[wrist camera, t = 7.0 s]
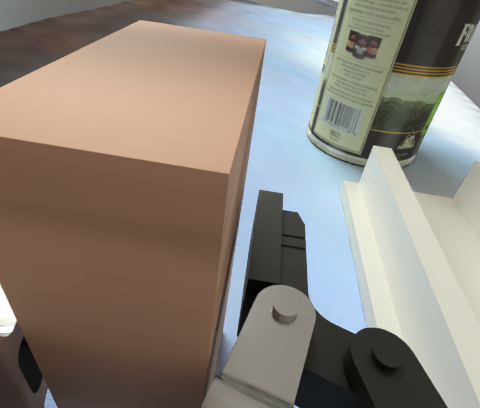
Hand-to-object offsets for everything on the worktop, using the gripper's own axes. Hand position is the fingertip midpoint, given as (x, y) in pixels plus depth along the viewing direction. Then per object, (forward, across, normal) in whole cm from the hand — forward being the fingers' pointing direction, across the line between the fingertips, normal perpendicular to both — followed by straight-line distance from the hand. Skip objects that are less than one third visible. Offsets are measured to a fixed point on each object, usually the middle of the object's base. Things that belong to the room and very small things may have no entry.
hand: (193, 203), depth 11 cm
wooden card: (-3, 0, +7) cm, 8 cm away
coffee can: (+23, -11, +7) cm, 26 cm away
